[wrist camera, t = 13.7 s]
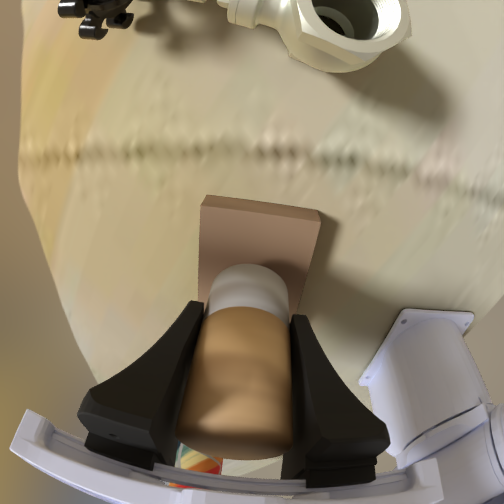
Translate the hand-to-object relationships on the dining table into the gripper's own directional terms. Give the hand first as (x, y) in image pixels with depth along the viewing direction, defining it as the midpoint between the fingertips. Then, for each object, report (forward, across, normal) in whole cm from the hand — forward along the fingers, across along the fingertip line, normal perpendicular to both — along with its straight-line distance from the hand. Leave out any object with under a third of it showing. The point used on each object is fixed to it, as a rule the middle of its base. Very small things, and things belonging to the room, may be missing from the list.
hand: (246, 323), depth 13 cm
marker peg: (+2, 0, 0) cm, 2 cm away
